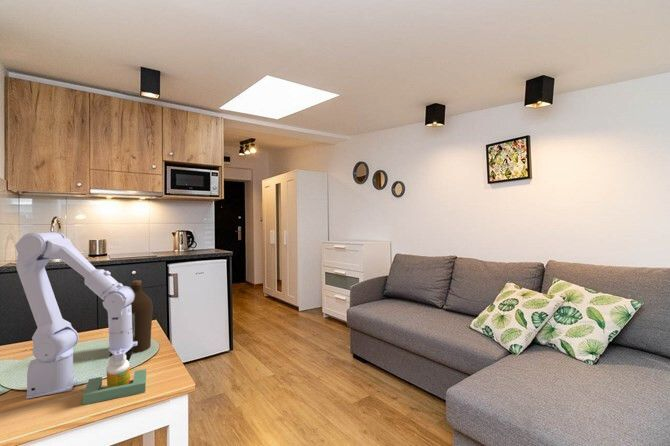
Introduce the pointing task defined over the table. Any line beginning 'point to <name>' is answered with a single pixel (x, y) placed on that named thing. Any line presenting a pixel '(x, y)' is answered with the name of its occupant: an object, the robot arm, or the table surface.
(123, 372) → the supplement bottle
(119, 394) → the green u-shaped block
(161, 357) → the table surface
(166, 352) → the table surface
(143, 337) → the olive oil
